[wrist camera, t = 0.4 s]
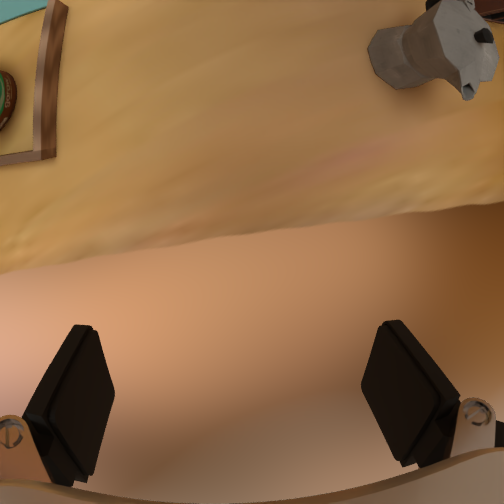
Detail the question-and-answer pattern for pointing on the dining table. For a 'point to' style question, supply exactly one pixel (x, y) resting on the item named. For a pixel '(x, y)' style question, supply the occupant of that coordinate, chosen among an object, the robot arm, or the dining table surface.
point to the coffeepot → (437, 49)
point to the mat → (19, 8)
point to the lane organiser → (45, 87)
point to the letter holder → (490, 10)
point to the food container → (7, 97)
